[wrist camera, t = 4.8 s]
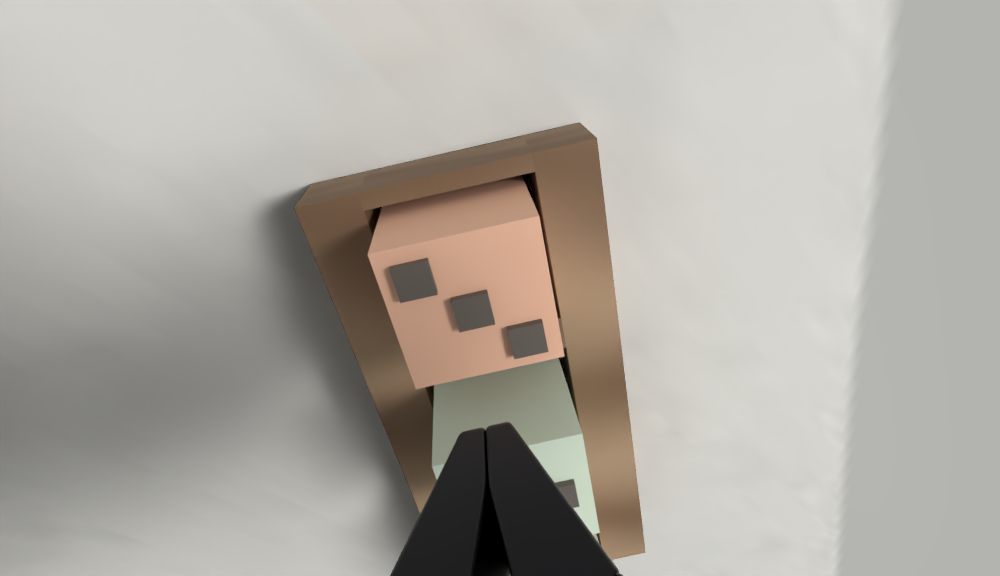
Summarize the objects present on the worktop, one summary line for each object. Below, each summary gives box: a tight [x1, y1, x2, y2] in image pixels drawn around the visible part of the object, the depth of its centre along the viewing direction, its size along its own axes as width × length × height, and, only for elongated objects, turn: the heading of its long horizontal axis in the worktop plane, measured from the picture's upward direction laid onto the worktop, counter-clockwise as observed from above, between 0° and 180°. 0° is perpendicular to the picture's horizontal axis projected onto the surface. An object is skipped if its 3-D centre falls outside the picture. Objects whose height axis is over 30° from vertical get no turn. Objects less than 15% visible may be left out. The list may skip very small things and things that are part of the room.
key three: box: [368, 175, 565, 389], centre depth 15 cm, size 4×4×4 cm
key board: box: [294, 123, 645, 560], centre depth 19 cm, size 17×8×2 cm, turn 12°
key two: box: [432, 358, 600, 534], centre depth 17 cm, size 4×4×4 cm
